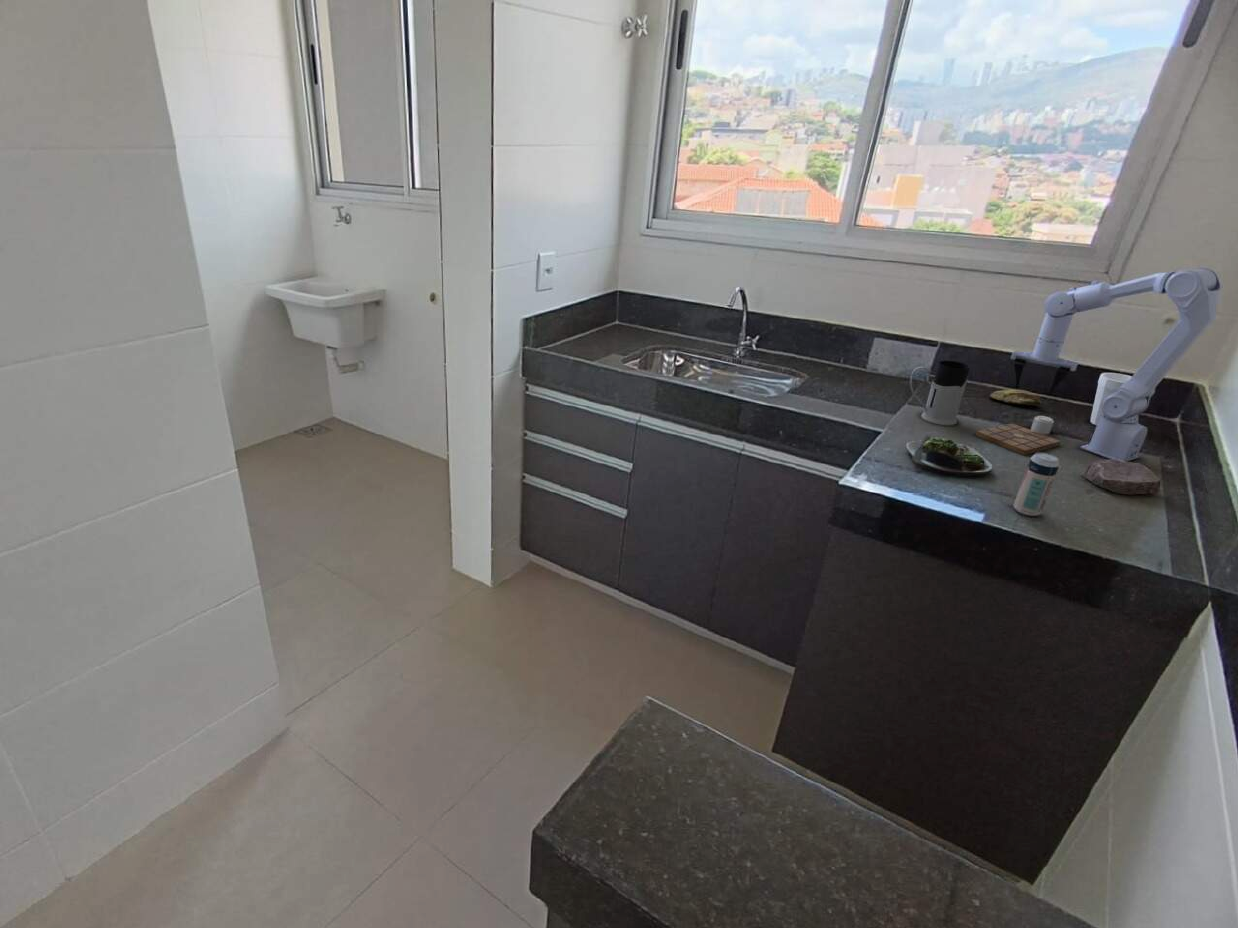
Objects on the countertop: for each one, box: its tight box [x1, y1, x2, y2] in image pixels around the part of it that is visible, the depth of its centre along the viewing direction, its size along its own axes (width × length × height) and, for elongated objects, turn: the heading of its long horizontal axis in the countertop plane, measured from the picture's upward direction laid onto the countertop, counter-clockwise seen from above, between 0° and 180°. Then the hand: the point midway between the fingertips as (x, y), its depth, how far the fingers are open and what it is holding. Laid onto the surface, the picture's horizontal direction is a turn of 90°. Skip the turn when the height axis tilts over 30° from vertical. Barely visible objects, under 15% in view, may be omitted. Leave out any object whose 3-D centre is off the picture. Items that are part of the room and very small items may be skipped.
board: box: [976, 422, 1061, 456], centre depth 164 cm, size 13×15×1 cm
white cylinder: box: [1030, 415, 1055, 435], centre depth 170 cm, size 4×4×4 cm
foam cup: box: [1089, 372, 1133, 426], centre depth 175 cm, size 10×9×13 cm
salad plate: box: [906, 434, 994, 479], centre depth 150 cm, size 19×18×5 cm
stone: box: [1084, 459, 1162, 495], centre depth 142 cm, size 9×12×5 cm
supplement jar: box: [1013, 452, 1060, 517], centre depth 127 cm, size 5×5×12 cm
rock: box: [989, 388, 1042, 406], centre depth 190 cm, size 13×10×4 cm
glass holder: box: [909, 360, 971, 426], centre depth 172 cm, size 9×14×15 cm, turn 83°
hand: (1033, 391), depth 172 cm, fingers open, 7 cm apart
